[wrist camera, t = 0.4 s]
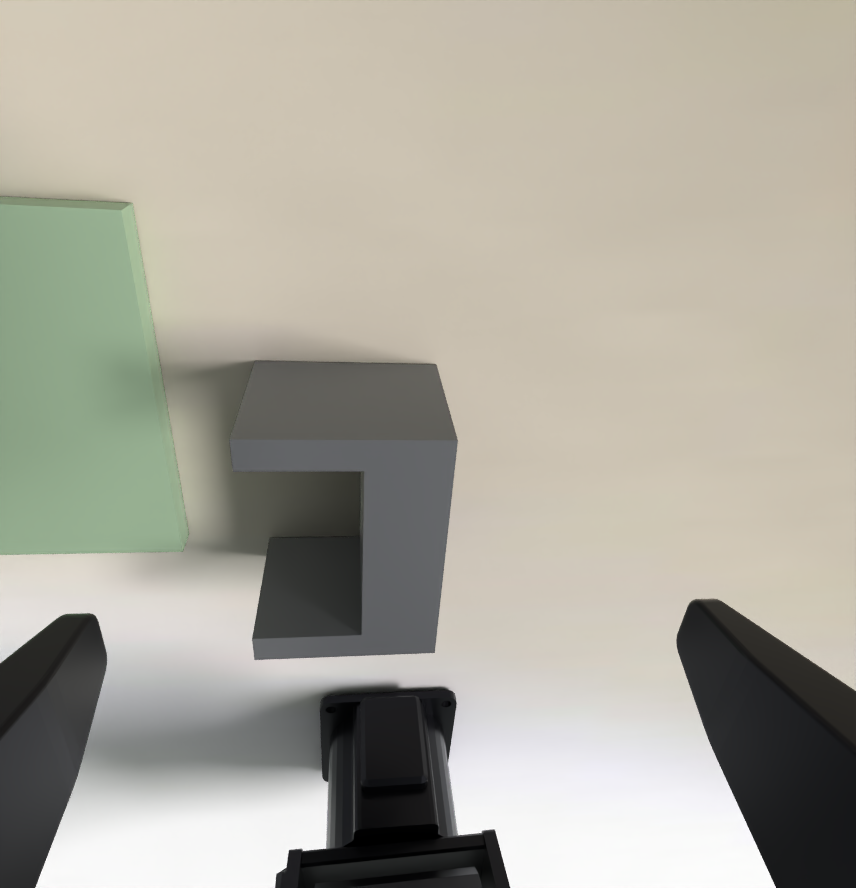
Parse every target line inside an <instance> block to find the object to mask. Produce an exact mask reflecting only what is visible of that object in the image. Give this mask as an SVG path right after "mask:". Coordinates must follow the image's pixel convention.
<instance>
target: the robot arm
mask: <svg viewBox="0 0 856 888" xmlns="http://www.w3.org/2000/svg"><path fill="white" fill-rule="evenodd" d="M677 649H678V653H679V656H680V659H681V662H682V665H683V668H684V670H685V673H686V676H687V679H688V682H689V685H690V688H691V691H692V694H693V697H694V700H695V702H696V705H697V708H698V711H699V714H700V717H701V720H702V723H703V726H704V728H705V731H706V734H707V736H708V739H709V742H710V744H711V746H712V749H713V751H714V753H715V755H716V758H717V760H718V762H719V764H720V766H721V769H722V771H723V773H724V775H725V777H726V780H727V782H728V784H729V786H730V788H731V790H732V793H733V795H734V797H735V799H736V801H737V804H738V806H739V808H740V810H741V812H742V814H743V817H744V819H745V821H746V823H747V825H748V827H749V830H750V832H751V834H752V836H753V838H754V841H755V843H756V845H757V847H758V849H759V851H760V854H761V856H762V858H763V860H764V862H765V865H766V867H767V869H768V871H769V873H770V875H771V878H772V880H773V882H774V884H775V886H776V888H856V691H855V690H853V689H852V688H850V687H849V686H847V685H846V684H844V683H843V682H841V681H840V680H838V679H837V678H835V677H834V676H832V675H831V674H830V673H828V672H827V671H825V670H824V669H822V668H821V667H819V666H818V665H816V664H815V663H813V662H812V661H810V660H809V659H807V658H806V657H804V656H803V655H801V654H800V653H798V652H797V651H795V650H794V649H792V648H791V647H789V646H788V645H786V644H785V643H783V642H782V641H780V640H779V639H777V638H776V637H774V636H773V635H771V634H770V633H768V632H767V631H765V630H764V629H762V628H761V627H759V626H758V625H756V624H755V623H753V622H752V621H750V620H749V619H747V618H746V617H744V616H743V615H741V614H740V613H738V612H737V611H735V610H734V609H732V608H731V607H729V606H728V605H726V604H725V603H724V602H722V601H720V600H718V599H695V600H693V601H691V602H690V603H689V605H688V607H687V610H686V613H685V615H684V618H683V621H682V623H681V626H680V629H679V631H678V634H677ZM106 666H107V654H106V649H105V645H104V642H103V638H102V634H101V630H100V626H99V622H98V620H97V618H96V616H95V615H93V614H90V613H87V614H65V615H62V616H60V617H59V618H57V619H56V620H55V621H53V622H52V623H51V624H50V625H48V626H47V627H46V628H44V629H43V630H42V631H41V632H39V633H38V634H37V635H36V636H34V637H33V638H32V639H31V640H29V641H28V642H27V643H26V644H24V645H23V646H22V647H20V648H19V649H18V650H17V651H15V652H14V653H13V654H12V655H10V656H9V657H8V658H7V659H5V660H4V661H3V662H1V663H0V888H35V887H36V884H37V882H38V879H39V876H40V874H41V871H42V869H43V866H44V863H45V861H46V858H47V856H48V853H49V850H50V848H51V845H52V842H53V840H54V837H55V835H56V832H57V829H58V827H59V824H60V822H61V819H62V816H63V814H64V811H65V809H66V806H67V803H68V801H69V798H70V796H71V793H72V790H73V787H74V784H75V782H76V779H77V776H78V772H79V769H80V765H81V762H82V759H83V755H84V751H85V747H86V743H87V740H88V736H89V732H90V728H91V724H92V721H93V717H94V713H95V709H96V706H97V702H98V698H99V694H100V690H101V687H102V683H103V679H104V675H105V671H106ZM456 704H457V703H456V697H455V693H454V692H452V691H450V690H440V691H419V692H397V693H376V694H354V695H333V696H327V697H324V698H323V699H322V700H321V704H320V720H321V748H322V776H323V779H324V780H325V781H327V782H328V810H327V841H326V849H319V850H309V851H303V850H302V849H294V850H289V854H288V861H287V868H285V869H284V870H282V871H281V872H279V873H278V874H276V885H275V888H510V886H509V882H508V878H507V874H506V870H505V867H504V863H503V859H502V855H501V851H500V848H499V844H498V840H497V836H496V832H495V830H494V829H493V830H483V831H482V833H478V834H468V835H458V833H457V826H456V819H455V811H454V804H453V797H452V789H451V782H450V775H449V768H448V759H449V752H450V745H451V738H452V731H453V725H454V718H455V711H456Z"/></svg>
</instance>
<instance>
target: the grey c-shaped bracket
mask: <svg viewBox="0 0 856 888" xmlns="http://www.w3.org/2000/svg"><path fill="white" fill-rule="evenodd" d="M229 441H230V450H231V459H232V467H233V472H275V471H361V490H360V537H296V538H270V539H269V545H268V551H267V557H266V562H265V568H264V574H263V580H262V586H261V591H260V597H259V603H258V609H257V615H256V620H255V626H254V632H253V638H252V641H253V650H254V658H255V660H264V659H289V658H315V657H340V656H365V655H391V654H416V653H435V644H436V635H437V626H438V617H439V607H440V598H441V589H442V580H443V571H444V562H445V552H446V543H447V534H448V525H449V516H450V507H451V497H452V488H453V479H454V470H455V461H456V452H457V442H458V440H457V436H456V433H455V429H454V426H453V422H452V419H451V415H450V411H449V408H448V404H447V401H446V397H445V394H444V390H443V387H442V383H441V379H440V376H439V372H438V369H437V365H436V364H390V363H340V362H290V361H255V362H254V365H253V368H252V371H251V374H250V377H249V381H248V384H247V387H246V390H245V393H244V396H243V399H242V402H241V405H240V408H239V411H238V414H237V417H236V420H235V424H234V427H233V430H232V433H231V436H230V439H229Z"/></svg>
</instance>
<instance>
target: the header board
mask: <svg viewBox="0 0 856 888" xmlns="http://www.w3.org/2000/svg"><path fill="white" fill-rule="evenodd" d="M188 535H189V531H188V526H187V520H186V514H185V508H184V502H183V496H182V490H181V484H180V479H179V473H178V467H177V461H176V455H175V449H174V443H173V438H172V432H171V426H170V420H169V414H168V408H167V402H166V397H165V391H164V385H163V379H162V373H161V367H160V361H159V356H158V350H157V344H156V338H155V332H154V326H153V320H152V315H151V309H150V303H149V297H148V291H147V285H146V279H145V274H144V268H143V262H142V256H141V250H140V244H139V238H138V232H137V227H136V221H135V215H134V209H133V203H121V202H101V201H81V200H61V199H41V198H21V197H1V196H0V555H19V554H76V553H134V552H183V550H184V547H185V544H186V541H187V538H188Z"/></svg>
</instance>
